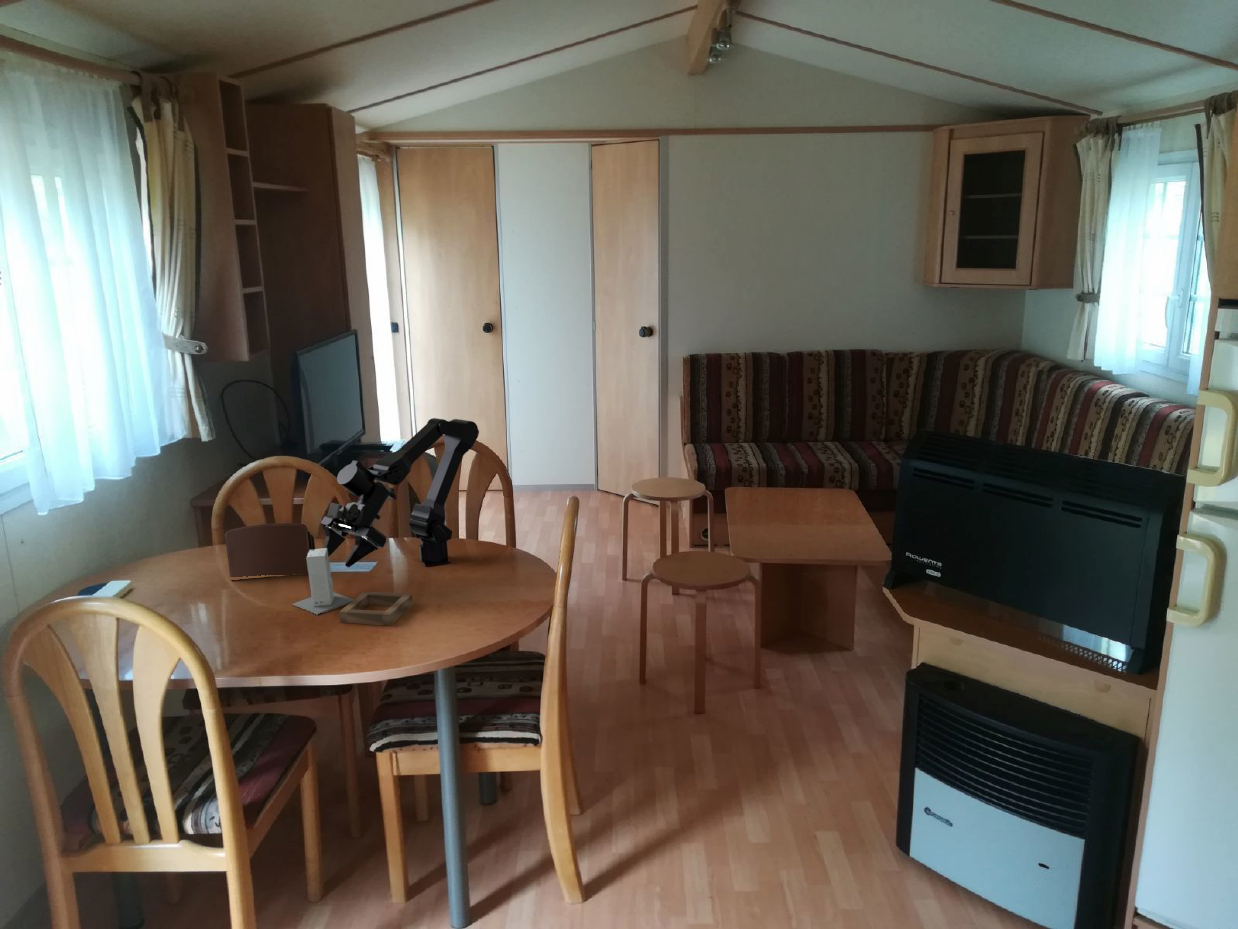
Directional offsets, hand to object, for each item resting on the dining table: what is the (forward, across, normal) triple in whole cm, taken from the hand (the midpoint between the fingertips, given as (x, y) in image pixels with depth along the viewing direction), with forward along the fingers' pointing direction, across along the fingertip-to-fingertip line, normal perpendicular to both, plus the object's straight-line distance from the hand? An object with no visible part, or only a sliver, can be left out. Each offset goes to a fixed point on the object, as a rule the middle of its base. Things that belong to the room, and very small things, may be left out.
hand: (335, 562), depth 214 cm
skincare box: (+9, 0, +3) cm, 10 cm away
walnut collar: (+7, +15, +6) cm, 18 cm away
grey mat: (+9, 0, +3) cm, 10 cm away
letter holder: (+6, -30, +8) cm, 31 cm away
